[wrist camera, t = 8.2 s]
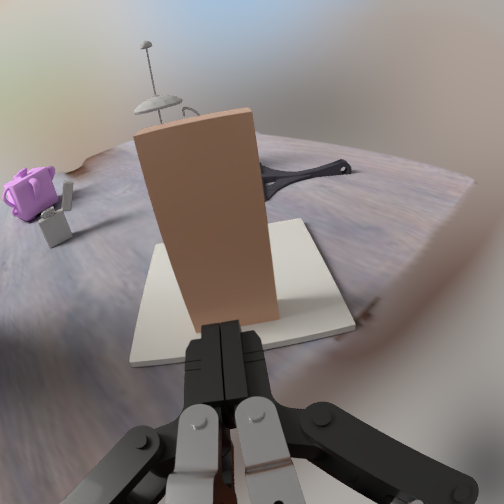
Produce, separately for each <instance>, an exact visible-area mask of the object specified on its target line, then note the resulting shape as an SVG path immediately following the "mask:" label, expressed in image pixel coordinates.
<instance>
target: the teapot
mask: <svg viewBox="0 0 504 504" xmlns="http://www.w3.org/2000/svg"><path fill="white" fill-rule="evenodd" d="M17 174H18V175H19V176H18V175H14V176H13V178H14V179H13V180H12V181H10V182H8V183H7V184H5V185H4V188H5V190H4V192H3V196H2V198H3V201H4V202H5V203H6V204H7V205H9V206H11V207H12V208H13V209H12V215H13V216H17V217H19V218H21V219H23V220H25V221H31V220H33V219H34V218H35V217H36V216H35V215H37V214H39V213H40V212H42V211H43V210H47V209H49V208H51V207H52V206H53V204H55V203H56V202H58V201H59V199H58V196H57V194H56V191H55V188H54V185H53V183H52V180H53V177H54V174H55V168H54V167H53V166H49V167H40V168H33V169H31V170H30V171H28V172H27V168H24V169H22V170H20V171H19V172H18V173H17ZM6 193H7V195H8V198H9V201H10V202H9V201H8V200H7V199H6V197H5V196H6Z"/></svg>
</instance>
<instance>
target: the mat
mask: <svg viewBox="0 0 504 504" xmlns="http://www.w3.org/2000/svg"><path fill="white" fill-rule="evenodd" d="M268 230H269V238H270V246H271V253H272V261H273V270H274V278H275V286H276V294H277V302H278V311H279V320H274V321H268V322H263V323H257V324H252V325H246V326H241V330H242V332H245V331H251V330H254V331H255V332H256V333H257V334H258V336H259V337H260V338H261V341H262V347H263V350H266V349H272V348H277V347H282V346H287V345H292V344H297V343H302V342H306V341H311V340H315V339H320V338H324V337H329V336H333V335H337V334H341V333H345V332H349V331H353V330H355V326H356V324H355V322H354V320H353V318H352V316H351V314H350V311H349V309H348V307H347V305H346V303H345V301H344V299H343V297H342V295H341V293H340V291H339V289H338V287H337V285H336V284H335V282H334V280H333V278H332V276H331V274H330V272H329V270H328V268H327V266H326V264H325V262H324V260H323V258H322V256H321V255H320V253H319V251H318V249H317V247H316V245H315V243H314V241H313V240H312V238H311V236H310V234H309V232H308V230H307V228H306V227H305V225H304V223H303V221H302V219H301V218H298V219H292V220H286V221H281V222H275V223H269V224H268ZM200 338H201V333H197V334H196V332H195V329H194V326H193V324H192V321H191V318H190V316H189V313H188V310H187V308H186V305H185V302H184V300H183V297H182V294H181V291H180V289H179V286H178V283H177V280H176V277H175V274H174V272H173V269H172V266H171V263H170V260H169V257H168V254H167V251H166V248H165V245H164V243H161V244H156V246H155V249H154V253H153V257H152V261H151V264H150V268H149V272H148V276H147V280H146V284H145V288H144V293H143V297H142V301H141V306H140V310H139V315H138V319H137V324H136V329H135V333H134V338H133V343H132V348H131V354H130V359H129V363H130V365H131V366H132V367H142V366H153V365H163V364H172V363H181V362H185V351H186V349H187V347H188V345H189V343H190V341H191V340H193V339H200Z"/></svg>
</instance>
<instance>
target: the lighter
mask: <svg viewBox="0 0 504 504" xmlns="http://www.w3.org/2000/svg"><path fill="white" fill-rule="evenodd" d="M72 193H73V181H64V183H63V195H62V208H61V209H59V210H57V211H55V210H54V207H53V206H52V207H51V208H49V209H47V210H45V211H43V213H42V214H41V218H42V219H40V220H38V223H39V225H40V228H41V230H42V232H43V234H44V237H45V239H46V241H47V243H48V245H49V247H50V248H52V247H54V246H56V245H58V244H60V243H62V242H64V241H65V240H67V239H69V238H71V237H73V235H72V232H71V230H70V228H69V225H68V223H67V220H66V218H65V215H64V213H63V211H71V205H72Z"/></svg>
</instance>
